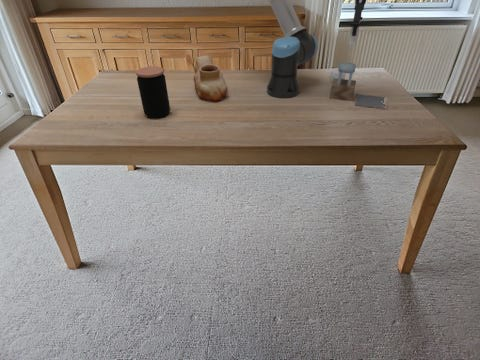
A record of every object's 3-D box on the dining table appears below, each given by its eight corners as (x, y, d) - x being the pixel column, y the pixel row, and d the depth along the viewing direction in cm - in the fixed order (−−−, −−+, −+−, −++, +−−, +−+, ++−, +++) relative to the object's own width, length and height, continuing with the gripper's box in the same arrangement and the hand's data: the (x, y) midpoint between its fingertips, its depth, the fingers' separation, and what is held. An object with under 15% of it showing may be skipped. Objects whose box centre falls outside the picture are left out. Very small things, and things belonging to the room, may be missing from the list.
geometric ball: (331, 88, 156) (323, 75, 154) (340, 79, 159) (332, 66, 156) (341, 85, 150) (334, 71, 147) (351, 76, 152) (343, 62, 149)
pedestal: (329, 98, 140) (331, 85, 136) (331, 90, 147) (333, 78, 143) (352, 101, 137) (355, 88, 133) (353, 93, 144) (356, 80, 141)
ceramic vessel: (216, 81, 159) (215, 51, 150) (231, 100, 139) (230, 67, 130) (190, 85, 155) (187, 54, 146) (201, 105, 135) (198, 70, 126)
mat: (355, 105, 133) (355, 104, 133) (356, 94, 143) (356, 93, 143) (387, 109, 130) (387, 108, 129) (386, 98, 139) (386, 97, 139)
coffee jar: (175, 110, 131) (169, 67, 120) (162, 121, 123) (154, 76, 112) (153, 107, 134) (145, 65, 123) (139, 117, 126) (129, 73, 115)
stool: (335, 84, 137) (338, 66, 132) (336, 79, 142) (340, 61, 137) (351, 86, 135) (355, 68, 130) (352, 81, 140) (356, 63, 135)
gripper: (375, -18, 104) (361, 48, 117) (375, -23, 123) (363, 34, 136) (352, -18, 106) (341, 47, 119) (355, -23, 125) (345, 33, 138)
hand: (352, 40), depth 127 cm, fingers open, 13 cm apart
